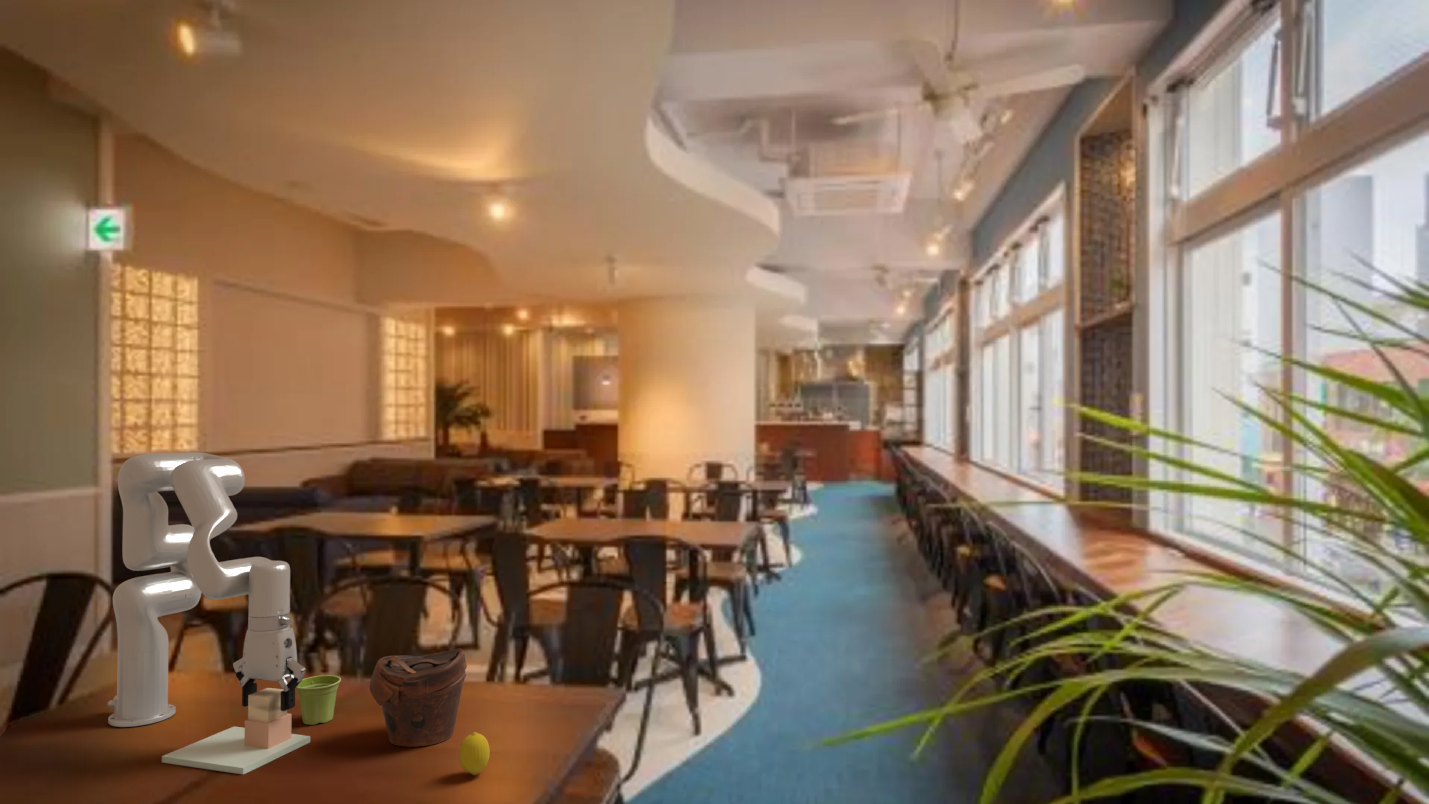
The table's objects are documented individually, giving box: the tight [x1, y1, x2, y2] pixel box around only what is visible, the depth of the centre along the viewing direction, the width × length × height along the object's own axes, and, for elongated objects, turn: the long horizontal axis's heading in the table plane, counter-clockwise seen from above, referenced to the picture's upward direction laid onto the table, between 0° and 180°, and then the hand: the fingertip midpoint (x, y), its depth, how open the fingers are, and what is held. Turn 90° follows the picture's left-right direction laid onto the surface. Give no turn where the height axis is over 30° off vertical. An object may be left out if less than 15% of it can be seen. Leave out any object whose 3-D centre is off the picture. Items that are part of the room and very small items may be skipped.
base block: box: [244, 712, 293, 749], centre depth 174 cm, size 6×6×5 cm
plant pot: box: [295, 674, 342, 726], centre depth 190 cm, size 9×9×9 cm
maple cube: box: [247, 687, 288, 722], centre depth 174 cm, size 5×5×5 cm
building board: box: [161, 725, 311, 775], centre depth 172 cm, size 20×17×1 cm
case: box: [369, 647, 468, 748], centre depth 180 cm, size 18×20×18 cm
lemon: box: [458, 731, 491, 776], centre depth 160 cm, size 6×6×8 cm
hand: (268, 706), depth 174 cm, fingers open, 9 cm apart
